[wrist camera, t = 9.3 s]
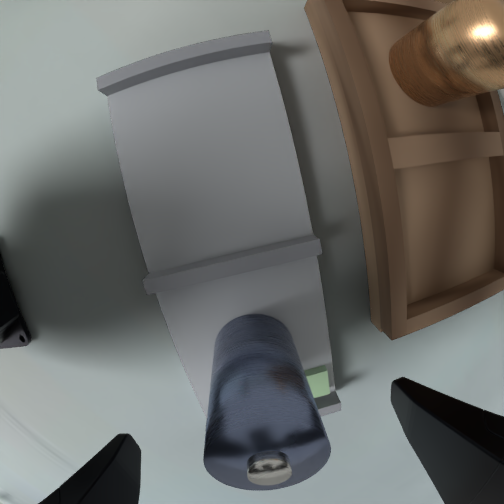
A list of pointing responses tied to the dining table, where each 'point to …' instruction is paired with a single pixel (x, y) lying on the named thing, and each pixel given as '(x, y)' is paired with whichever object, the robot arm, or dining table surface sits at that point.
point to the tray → (414, 170)
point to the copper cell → (452, 53)
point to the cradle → (220, 201)
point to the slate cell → (261, 409)
